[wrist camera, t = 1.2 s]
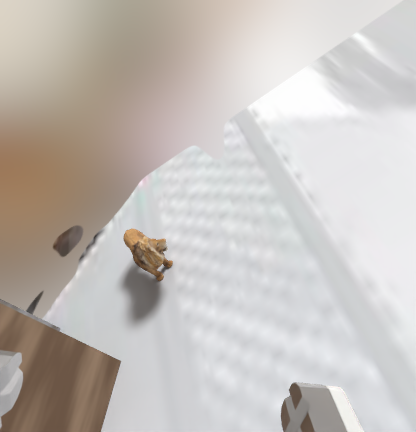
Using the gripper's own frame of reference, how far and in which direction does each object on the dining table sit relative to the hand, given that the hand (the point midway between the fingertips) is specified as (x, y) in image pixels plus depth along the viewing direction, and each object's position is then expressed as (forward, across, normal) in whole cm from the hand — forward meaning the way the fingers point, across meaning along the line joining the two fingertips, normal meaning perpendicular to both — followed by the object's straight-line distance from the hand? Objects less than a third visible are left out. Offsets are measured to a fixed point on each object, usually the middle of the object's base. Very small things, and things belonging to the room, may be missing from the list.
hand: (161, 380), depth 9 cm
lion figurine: (+38, +1, +21) cm, 43 cm away
